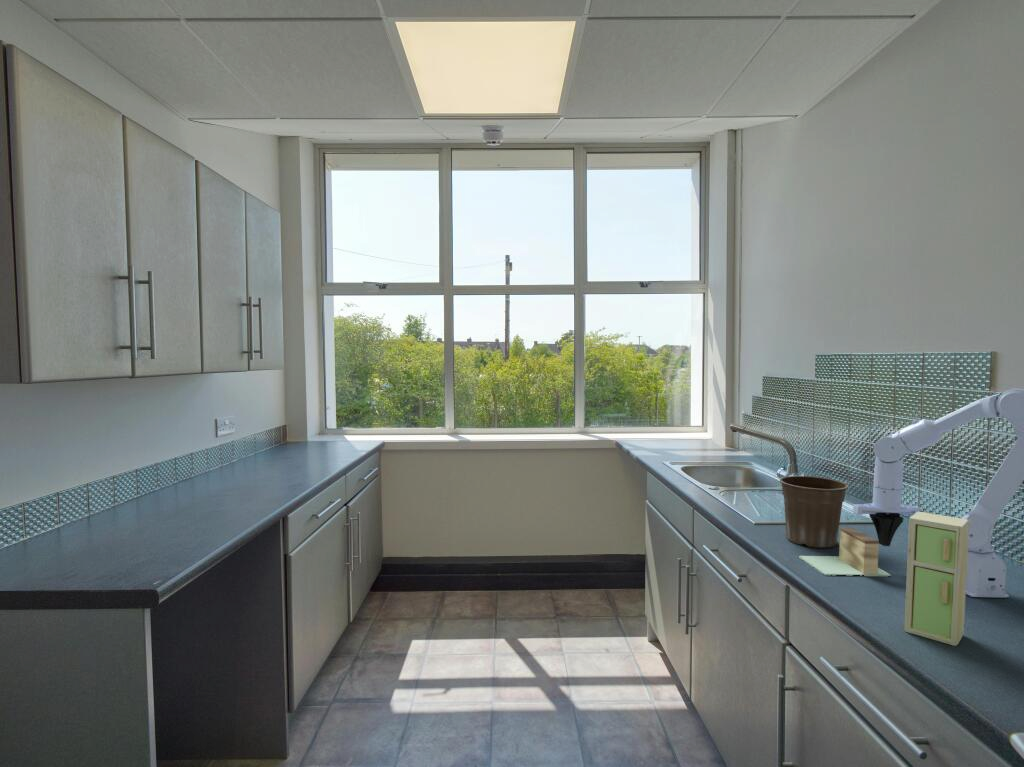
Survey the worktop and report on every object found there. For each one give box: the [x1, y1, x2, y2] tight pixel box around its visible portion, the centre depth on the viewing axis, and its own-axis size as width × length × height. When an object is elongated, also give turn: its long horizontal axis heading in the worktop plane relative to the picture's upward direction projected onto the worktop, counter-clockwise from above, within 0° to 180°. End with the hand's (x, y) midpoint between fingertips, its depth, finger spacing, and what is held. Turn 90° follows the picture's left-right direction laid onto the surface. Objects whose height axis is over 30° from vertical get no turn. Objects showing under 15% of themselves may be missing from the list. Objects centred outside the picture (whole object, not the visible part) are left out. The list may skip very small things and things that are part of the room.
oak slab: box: [838, 527, 880, 574], centre depth 141 cm, size 10×3×8 cm, turn 1°
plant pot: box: [779, 475, 849, 549], centre depth 160 cm, size 16×16×16 cm
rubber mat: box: [798, 555, 892, 577], centre depth 142 cm, size 12×15×1 cm
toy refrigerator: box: [904, 511, 969, 647], centre depth 107 cm, size 8×7×21 cm
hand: (884, 544), depth 141 cm, fingers closed
